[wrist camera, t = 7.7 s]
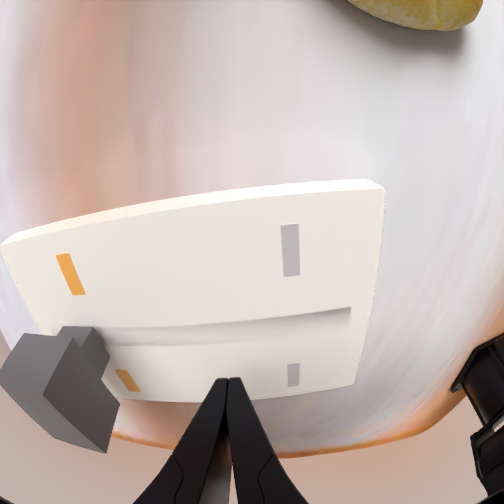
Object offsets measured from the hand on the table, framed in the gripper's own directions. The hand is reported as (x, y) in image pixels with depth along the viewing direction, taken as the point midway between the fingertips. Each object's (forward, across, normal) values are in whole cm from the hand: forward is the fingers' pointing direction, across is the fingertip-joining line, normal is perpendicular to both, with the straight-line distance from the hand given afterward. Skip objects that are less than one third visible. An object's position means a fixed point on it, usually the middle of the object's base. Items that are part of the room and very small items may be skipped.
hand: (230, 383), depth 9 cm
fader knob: (+2, +7, 0) cm, 8 cm away
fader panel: (+4, +2, 0) cm, 5 cm away
